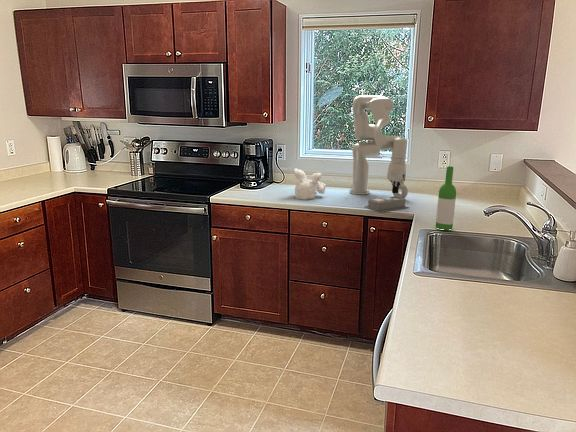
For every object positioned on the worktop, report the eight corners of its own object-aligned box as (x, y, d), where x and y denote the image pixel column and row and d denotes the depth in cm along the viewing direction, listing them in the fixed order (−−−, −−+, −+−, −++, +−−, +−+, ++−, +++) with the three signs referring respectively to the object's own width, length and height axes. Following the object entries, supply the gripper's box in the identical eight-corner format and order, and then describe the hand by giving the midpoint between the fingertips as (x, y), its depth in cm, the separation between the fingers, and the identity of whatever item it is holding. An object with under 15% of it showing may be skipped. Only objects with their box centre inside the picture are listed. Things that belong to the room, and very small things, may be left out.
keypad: (364, 207, 270) (364, 199, 269) (391, 202, 281) (391, 195, 280) (381, 212, 259) (382, 204, 258) (408, 208, 270) (409, 200, 268)
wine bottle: (433, 226, 234) (439, 165, 227) (450, 227, 234) (457, 165, 226) (436, 231, 227) (443, 167, 219) (453, 232, 226) (460, 168, 218)
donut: (408, 200, 287) (409, 184, 285) (404, 201, 285) (406, 184, 283) (394, 197, 295) (395, 181, 292) (390, 198, 292) (392, 182, 290)
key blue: (381, 203, 270) (381, 198, 269) (386, 202, 272) (387, 197, 272) (386, 205, 266) (387, 199, 266) (392, 204, 269) (393, 198, 268)
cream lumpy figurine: (287, 185, 281) (296, 163, 293) (290, 209, 295) (298, 186, 308) (319, 189, 276) (326, 166, 289) (320, 213, 291) (327, 190, 303)
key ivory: (372, 204, 267) (372, 199, 266) (378, 203, 269) (378, 198, 268) (377, 206, 263) (378, 201, 262) (384, 205, 265) (384, 200, 265)
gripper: (383, 158, 271) (380, 190, 276) (403, 163, 259) (399, 196, 264) (393, 157, 275) (390, 189, 280) (413, 162, 263) (409, 195, 268)
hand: (395, 192), depth 272 cm, fingers closed
